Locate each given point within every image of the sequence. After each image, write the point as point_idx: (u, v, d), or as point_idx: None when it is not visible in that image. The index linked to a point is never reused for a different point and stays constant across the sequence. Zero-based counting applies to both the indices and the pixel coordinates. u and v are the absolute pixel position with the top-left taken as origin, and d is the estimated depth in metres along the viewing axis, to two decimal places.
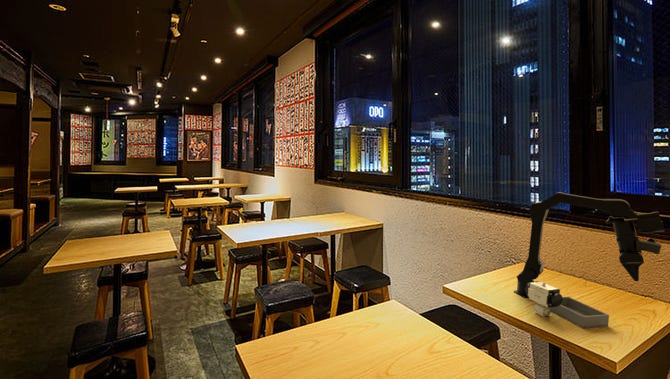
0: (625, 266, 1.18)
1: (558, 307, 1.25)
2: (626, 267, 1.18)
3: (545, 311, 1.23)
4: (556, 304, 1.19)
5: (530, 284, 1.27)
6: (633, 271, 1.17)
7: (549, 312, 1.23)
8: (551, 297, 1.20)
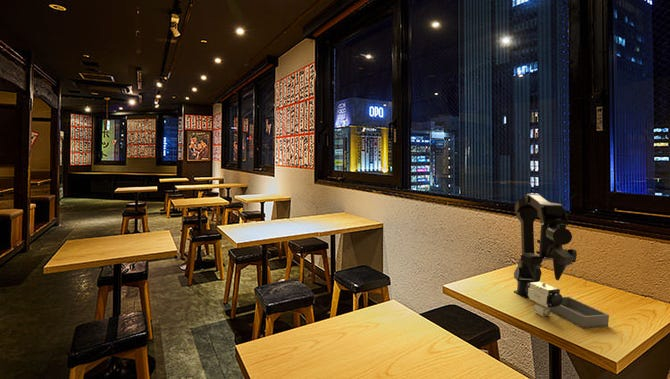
0: (528, 265, 1.24)
1: (558, 307, 1.25)
2: (528, 266, 1.24)
3: (545, 311, 1.23)
4: (556, 304, 1.19)
5: (530, 284, 1.27)
6: (533, 271, 1.22)
7: (549, 312, 1.23)
8: (551, 297, 1.20)
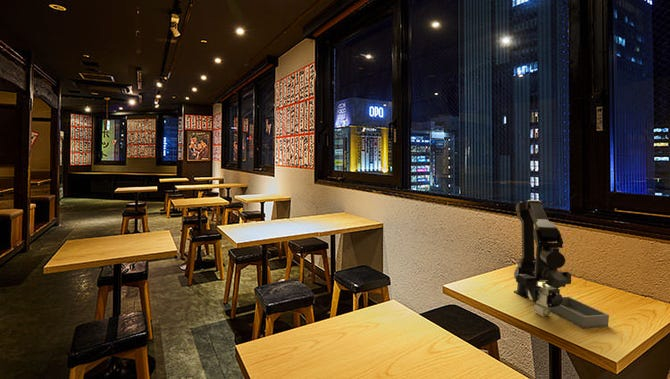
0: (527, 286, 1.26)
1: (558, 307, 1.25)
2: (528, 287, 1.25)
3: (545, 311, 1.23)
4: (556, 304, 1.19)
5: None
6: (532, 292, 1.24)
7: (549, 312, 1.23)
8: (551, 297, 1.20)
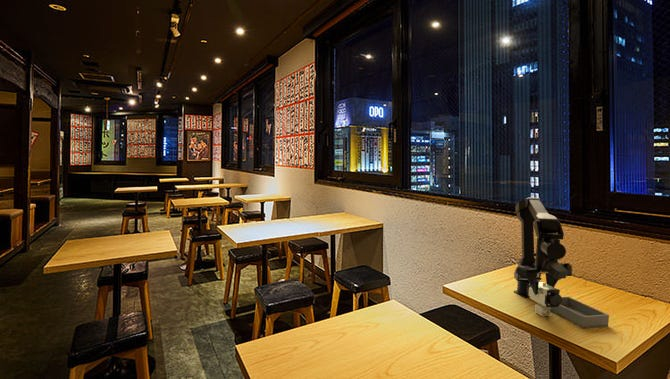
0: (528, 277, 1.25)
1: (558, 307, 1.25)
2: (528, 279, 1.25)
3: (544, 311, 1.23)
4: (554, 304, 1.19)
5: None
6: (533, 284, 1.24)
7: (549, 312, 1.23)
8: (549, 297, 1.20)
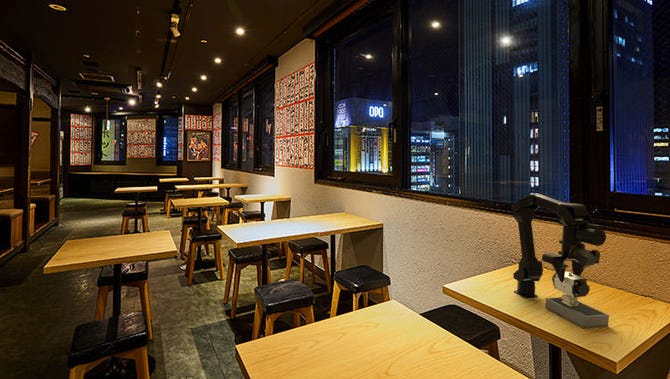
0: (553, 265, 1.24)
1: (558, 307, 1.25)
2: (554, 266, 1.24)
3: (572, 301, 1.22)
4: (582, 294, 1.18)
5: (556, 274, 1.26)
6: (559, 272, 1.22)
7: (577, 302, 1.22)
8: (576, 287, 1.18)
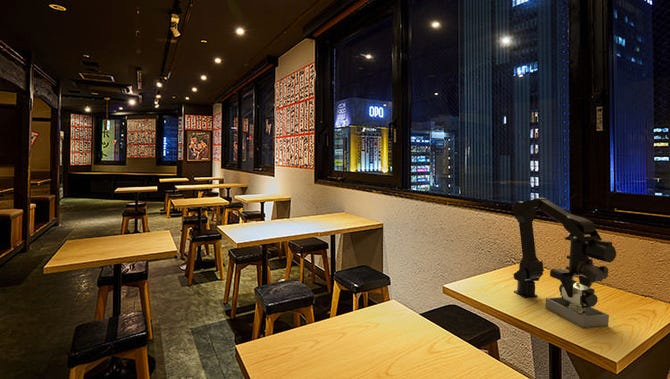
0: (561, 280, 1.24)
1: (558, 307, 1.25)
2: (562, 282, 1.24)
3: (580, 311, 1.22)
4: (590, 304, 1.18)
5: None
6: (567, 287, 1.23)
7: (584, 312, 1.22)
8: (584, 297, 1.18)
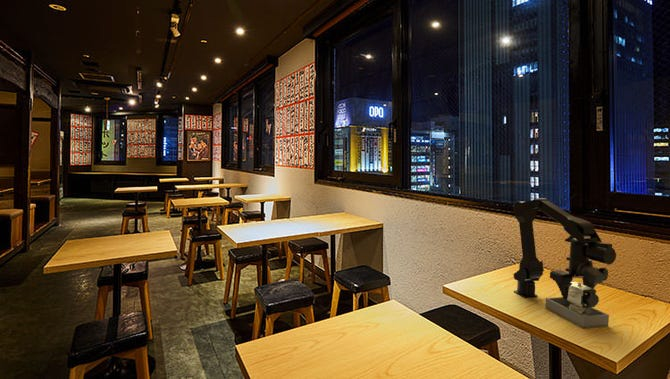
0: (557, 282, 1.24)
1: (558, 307, 1.25)
2: (558, 283, 1.24)
3: (580, 311, 1.22)
4: (591, 304, 1.18)
5: None
6: (562, 289, 1.22)
7: (585, 312, 1.22)
8: (586, 297, 1.18)
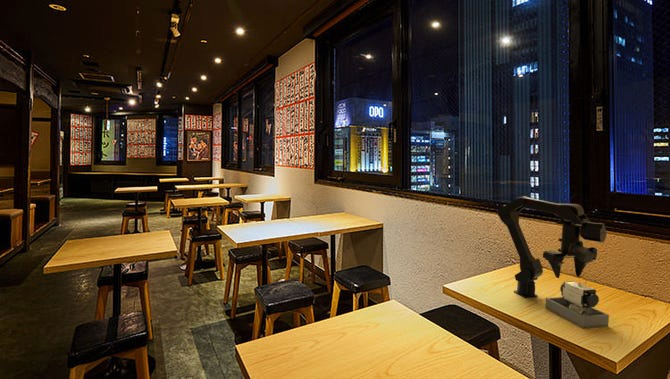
0: (550, 262, 1.31)
1: (558, 307, 1.25)
2: (550, 263, 1.31)
3: (580, 311, 1.22)
4: (591, 304, 1.18)
5: (565, 284, 1.26)
6: (555, 268, 1.30)
7: (585, 312, 1.22)
8: (586, 297, 1.18)
